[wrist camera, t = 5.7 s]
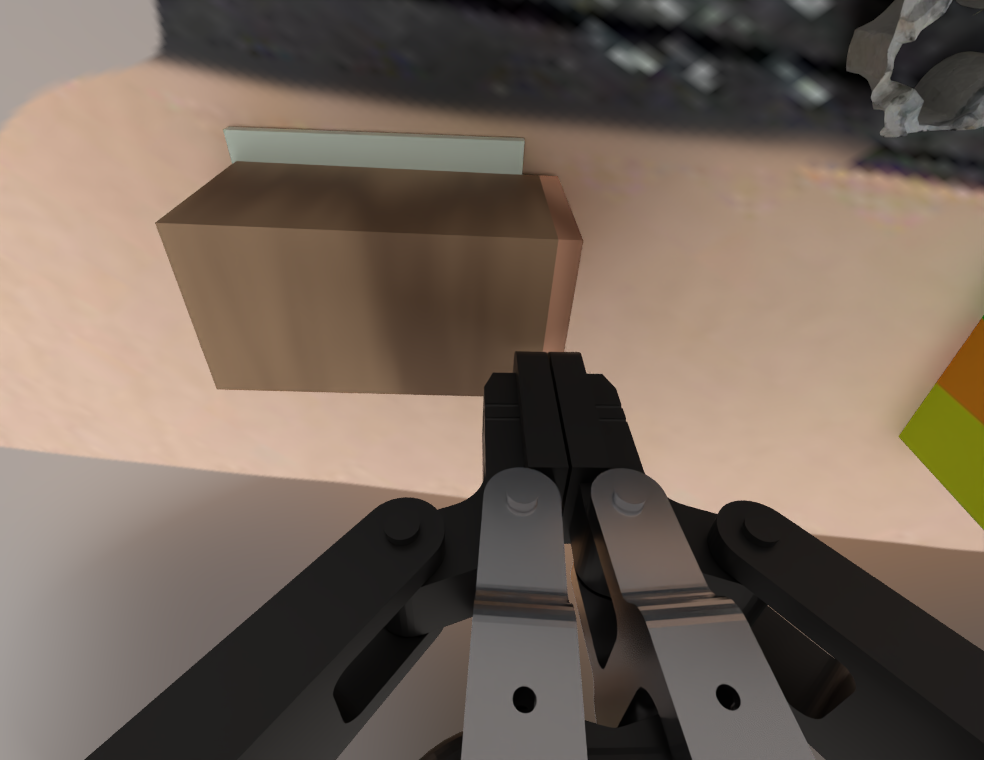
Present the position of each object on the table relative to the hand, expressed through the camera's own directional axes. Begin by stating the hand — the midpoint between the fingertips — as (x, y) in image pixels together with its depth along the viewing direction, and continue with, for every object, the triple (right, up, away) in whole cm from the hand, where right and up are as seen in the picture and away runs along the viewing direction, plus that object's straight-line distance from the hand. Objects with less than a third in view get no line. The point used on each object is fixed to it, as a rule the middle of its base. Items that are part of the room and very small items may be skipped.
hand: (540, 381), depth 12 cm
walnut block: (+1, +3, +4) cm, 5 cm away
